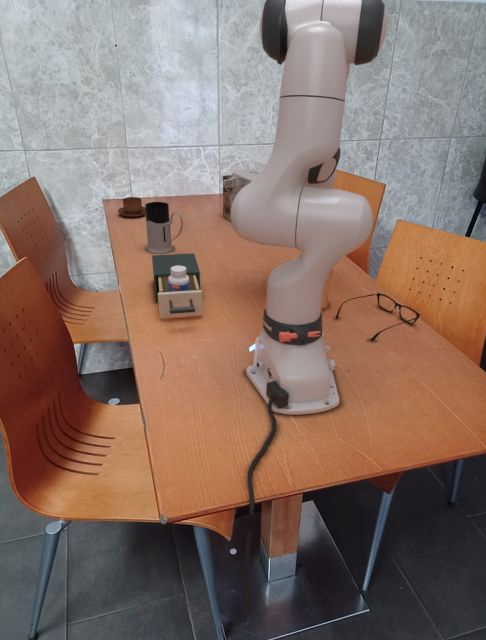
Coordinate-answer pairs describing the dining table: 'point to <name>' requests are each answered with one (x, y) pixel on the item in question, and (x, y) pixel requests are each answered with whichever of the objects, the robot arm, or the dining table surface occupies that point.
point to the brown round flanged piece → (132, 207)
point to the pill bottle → (178, 279)
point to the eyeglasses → (387, 311)
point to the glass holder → (159, 227)
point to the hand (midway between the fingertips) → (233, 188)
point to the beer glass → (326, 291)
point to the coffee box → (228, 198)
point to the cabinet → (165, 263)
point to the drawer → (179, 299)
